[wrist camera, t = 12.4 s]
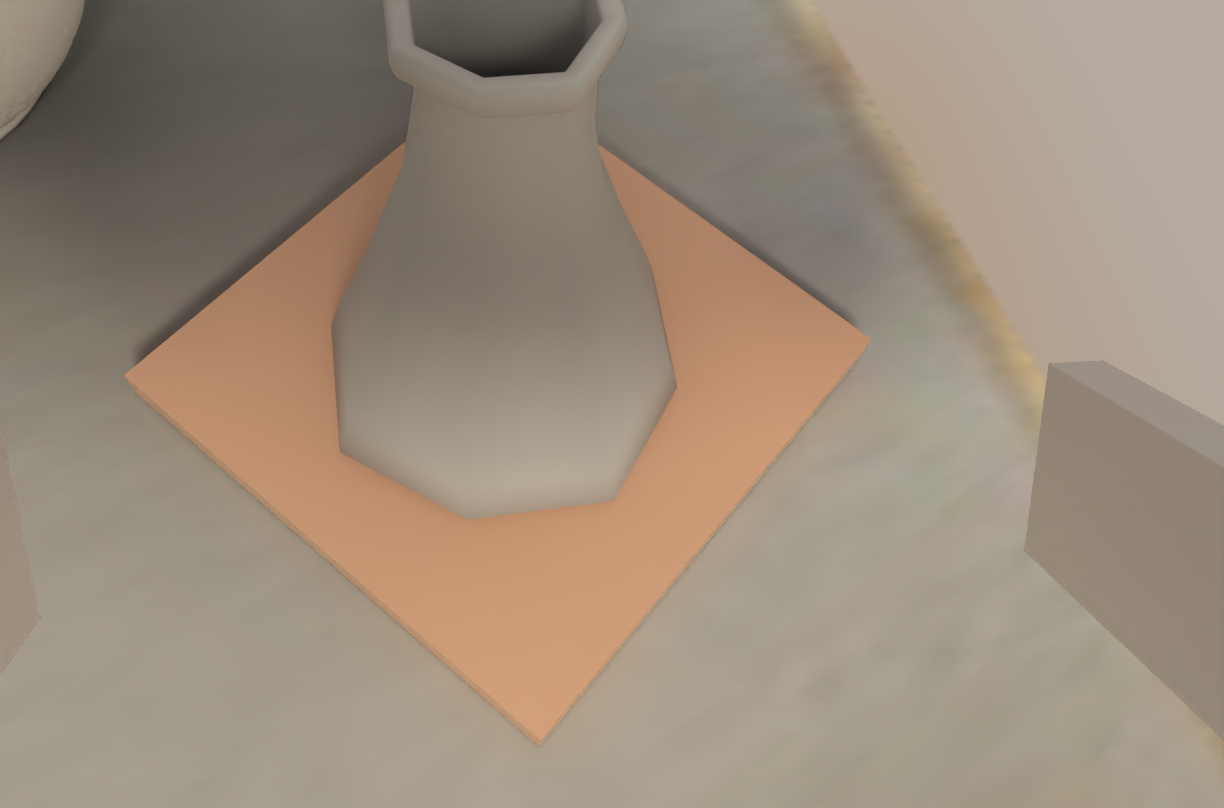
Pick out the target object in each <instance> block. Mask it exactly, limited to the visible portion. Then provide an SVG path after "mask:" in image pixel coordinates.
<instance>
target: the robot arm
mask: <svg viewBox="0 0 1224 808" xmlns="http://www.w3.org/2000/svg"><path fill="white" fill-rule="evenodd" d="M1024 551H1025V552H1026V553H1027V554H1028V555H1029V556H1030V557H1032V558H1033V559H1034V560H1035V561H1036V562H1037V563H1038V564H1039V565H1040V566H1041V567H1042V568H1043V569H1044V570H1045V571H1046V572H1047V573H1048V574H1049V575H1050V576H1051V577H1053V578H1054V579H1055V580H1056V581H1057V582H1058V583H1059V584H1060V585H1061V586H1062V587H1063V588H1064V589H1065V590H1066V591H1067V592H1068V593H1069V594H1070V595H1071V596H1072V597H1074V598H1075V599H1076V600H1077V601H1078V602H1079V603H1080V604H1081V605H1082V606H1083V607H1084V608H1085V609H1086V610H1087V611H1088V612H1089V613H1090V614H1091V615H1092V616H1093V617H1095V618H1096V619H1097V620H1098V621H1099V622H1100V623H1101V624H1102V625H1103V626H1104V627H1105V628H1106V629H1107V630H1108V631H1109V632H1110V633H1111V634H1112V635H1113V636H1114V637H1116V638H1117V639H1118V640H1119V641H1120V642H1121V643H1122V644H1123V645H1124V646H1125V647H1126V648H1127V649H1128V650H1129V651H1130V652H1131V653H1132V654H1133V655H1134V656H1135V657H1137V658H1138V659H1139V660H1140V661H1141V662H1142V663H1143V664H1144V665H1145V666H1146V667H1147V668H1148V669H1149V670H1150V671H1151V672H1152V673H1153V674H1154V675H1155V676H1156V677H1158V678H1159V679H1160V680H1161V681H1162V682H1163V683H1164V684H1165V685H1166V686H1167V687H1168V688H1169V689H1170V690H1171V691H1172V692H1173V693H1174V694H1175V695H1176V696H1177V697H1179V698H1180V699H1181V700H1182V701H1183V702H1184V703H1185V704H1186V705H1187V706H1188V707H1189V708H1190V709H1191V710H1192V711H1193V712H1194V713H1195V714H1196V715H1197V716H1198V717H1200V718H1201V719H1202V720H1203V721H1204V722H1205V723H1206V724H1207V725H1208V726H1209V727H1210V728H1211V729H1212V730H1213V731H1214V732H1215V733H1216V734H1217V735H1218V736H1219V737H1221V738H1222V739H1223V740H1224V426H1223V425H1221V424H1219V423H1218V422H1216V421H1214V420H1212V419H1210V418H1209V417H1207V416H1205V415H1203V414H1201V413H1199V412H1197V411H1195V410H1194V409H1192V408H1190V407H1188V406H1186V405H1184V404H1183V403H1181V402H1179V401H1177V400H1175V399H1173V398H1171V397H1170V396H1168V395H1166V394H1164V393H1162V392H1160V391H1158V390H1157V389H1155V388H1153V387H1151V386H1149V385H1147V384H1146V383H1144V382H1142V381H1140V380H1138V379H1136V378H1134V377H1133V376H1131V375H1129V374H1127V373H1125V372H1123V371H1121V370H1119V369H1118V368H1116V367H1114V366H1112V365H1110V364H1108V363H1107V362H1105V361H1086V362H1064V363H1049V366H1048V374H1047V381H1046V389H1045V396H1044V404H1043V412H1042V419H1041V427H1040V435H1039V442H1038V450H1037V457H1036V465H1035V473H1034V480H1033V488H1032V495H1031V503H1030V511H1029V518H1028V526H1027V534H1026V541H1025V549H1024ZM39 619H40V613H39V608H38V603H37V599H36V594H35V589H34V584H33V579H32V574H31V569H30V564H29V559H28V554H27V550H26V545H25V540H24V535H23V530H22V525H21V520H20V515H19V510H18V505H17V500H16V496H15V491H14V486H13V481H12V476H11V471H10V466H9V461H8V456H7V451H6V447H5V442H4V437H3V432H2V427H1V422H0V675H1V674H2V673H3V671H4V670H5V668H6V667H7V665H8V664H9V663H10V661H11V660H12V658H13V657H14V655H15V654H16V652H17V651H18V650H19V648H20V647H21V645H22V644H23V642H24V641H25V639H26V638H27V637H28V635H29V634H30V632H31V631H32V629H33V628H34V626H35V625H36V624H37V622H38V621H39Z"/></svg>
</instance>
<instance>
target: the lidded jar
mask: <svg viewBox="0 0 1224 808" xmlns="http://www.w3.org/2000/svg"><path fill="white" fill-rule="evenodd" d="M84 5H85V0H0V140H2V139H3V138H4V137H5V136H7V135H8V134H9V133H10V132H11V131H13V130H14V129H15V128H16V127H17V126H18V125H19V124H20V123H21V122H22V121H23V120H24V119H25V118H26V116H27V115H28V114H29V113H30V112H31V110H32V109H33V107H34V106H35V104H36V103H37V101H38V100H39V98H40V97H41V94H42V92H43V90H44V89H45V88H46V86H47V85H48V84H49V83H50V81H51V80H52V79H53V77H54V76H55V74H56V72H57V71H58V69H59V68H60V66H61V65H62V63H63V62H64V60H65V59H66V57H67V54H68V52H69V49H70V47H71V45H72V42H73V40H74V38H75V35H76V32H77V30H78V27H79V24H80V21H81V19H82V14H83V10H84Z"/></svg>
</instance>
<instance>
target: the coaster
mask: <svg viewBox="0 0 1224 808" xmlns="http://www.w3.org/2000/svg"><path fill="white" fill-rule="evenodd" d="M405 144H406V141H405V142H404V143H402V144H401V145H400V146H399V147H398V148H396V149H395V150H394V151H393V152H392V153H390V154H389V155H388V156H387V157H386V158H384V159H383V160H382V161H381V162H380V163H378V164H377V165H376V166H375V167H374V168H372V169H371V170H370V171H369V172H368V173H366V174H365V175H364V176H363V177H362V178H360V179H359V180H358V181H357V182H356V183H354V184H353V185H352V186H351V187H350V188H348V189H347V190H346V191H345V192H344V193H342V194H341V195H340V196H339V197H338V198H336V199H335V200H334V201H333V202H332V203H330V204H329V205H328V206H327V207H326V208H324V209H323V210H322V211H321V212H320V213H318V214H317V215H316V216H315V217H314V218H312V219H311V220H310V221H309V222H308V223H306V224H305V225H304V226H303V227H302V228H300V229H299V230H298V231H297V232H296V233H294V234H293V235H292V236H291V237H290V238H288V239H287V240H286V241H285V242H283V243H282V244H281V245H280V246H279V247H277V248H276V249H275V250H274V251H273V252H271V253H270V254H269V255H268V256H267V257H265V258H264V259H263V260H262V261H261V262H259V263H258V264H257V265H256V266H255V267H253V268H252V269H251V270H250V271H249V272H247V273H246V274H245V275H244V276H243V277H241V278H240V279H239V280H238V281H237V282H235V283H234V284H233V285H232V286H231V287H229V288H228V289H227V290H226V291H225V292H223V293H222V294H221V295H220V296H219V297H217V298H216V299H215V300H214V301H213V302H211V303H210V304H209V305H208V306H207V307H205V308H204V309H203V310H202V311H201V312H199V313H198V314H197V315H196V316H195V317H193V318H192V319H191V320H190V321H189V322H187V323H186V324H185V325H184V326H183V327H181V328H180V329H179V330H178V331H177V332H175V333H174V334H173V335H172V336H171V337H169V338H168V339H167V340H166V341H165V342H163V343H162V344H161V345H160V346H159V347H157V348H156V349H155V350H154V351H153V352H151V353H150V354H149V355H148V356H147V357H145V358H144V359H143V360H142V361H141V362H139V363H138V364H137V365H136V366H135V367H133V368H132V369H131V370H130V371H129V372H127V373H126V374H125V375H124V376H125V378H126V379H127V381H128V382H129V384H130V385H131V387H132V388H133V390H134V391H135V392H136V394H138V395H139V396H140V397H141V398H142V399H143V400H144V401H146V402H147V403H148V404H149V405H150V406H151V407H152V408H154V409H155V410H156V411H157V412H158V413H159V414H160V415H162V416H163V417H164V418H165V419H166V420H167V421H168V422H170V423H171V424H172V425H173V426H174V427H175V428H176V429H177V430H179V431H180V432H181V433H182V434H183V435H184V436H185V437H187V438H188V439H189V440H190V441H191V442H192V443H193V444H195V445H196V446H197V447H198V448H199V449H200V450H201V451H203V452H204V453H205V454H206V455H207V456H208V457H209V458H211V459H212V460H213V461H214V462H215V463H216V464H217V465H219V466H220V467H221V468H222V469H223V470H224V471H225V472H227V473H228V474H229V475H230V476H231V477H232V478H233V479H234V480H236V481H237V482H238V483H239V484H240V485H241V486H242V487H244V488H245V489H246V490H247V491H248V492H249V493H250V494H252V495H253V496H254V497H255V498H256V499H257V500H258V501H260V502H261V503H262V504H263V505H264V506H265V507H266V508H268V509H269V510H270V511H271V512H272V513H273V514H274V515H276V516H277V517H278V518H279V519H280V520H281V521H282V522H283V523H285V524H286V525H287V526H288V527H289V528H290V529H291V530H293V531H294V532H295V533H296V534H297V535H298V536H299V537H301V538H302V539H303V540H304V541H305V542H306V543H307V544H309V545H310V546H311V547H312V548H313V549H314V550H315V551H317V552H318V553H319V554H320V555H321V556H322V557H323V558H325V559H326V560H327V561H328V562H329V563H330V564H331V565H333V566H334V567H335V568H336V569H337V570H338V571H339V572H340V573H342V574H343V575H344V576H345V577H346V578H347V579H348V580H350V581H351V582H352V583H353V584H354V585H355V586H356V587H358V588H359V589H360V590H361V591H362V592H363V593H364V594H366V595H367V596H368V597H369V598H370V599H371V600H372V601H374V602H375V603H376V604H377V605H378V606H379V607H380V608H382V609H383V610H384V611H385V612H386V613H387V614H388V615H389V616H391V617H392V618H393V619H394V620H395V621H396V622H397V623H399V624H400V625H401V626H402V627H403V628H404V629H405V630H407V631H408V632H409V633H410V634H411V635H412V636H413V637H415V638H416V639H417V640H418V641H419V642H420V643H421V644H423V645H424V646H425V647H426V648H427V649H428V650H429V651H431V652H432V653H433V654H434V655H435V656H436V657H437V658H439V659H440V660H441V661H442V662H443V663H444V664H445V665H446V666H448V667H449V668H450V669H451V670H452V671H453V672H454V673H456V674H457V675H458V676H459V677H460V678H461V679H462V680H464V681H465V682H466V683H467V684H468V685H469V686H470V687H472V688H473V689H474V690H475V691H476V692H477V693H478V694H480V695H481V696H482V697H483V698H484V699H485V700H486V701H488V702H489V703H490V704H491V705H492V706H493V707H494V708H496V709H497V710H498V711H499V712H500V713H501V714H502V715H503V716H505V717H506V718H507V719H508V720H509V721H510V722H511V723H513V724H514V725H515V726H516V727H517V728H518V729H519V730H521V731H522V732H523V733H524V734H525V735H526V736H527V737H529V738H530V739H531V740H532V741H533V742H534V743H535V744H537V745H538V746H540V745H541V744H542V743H543V742H544V740H545V739H546V738H547V737H548V735H549V734H550V733H551V732H552V731H553V729H554V728H555V727H556V726H557V725H558V723H559V722H560V721H561V720H562V718H563V717H564V716H565V715H566V714H567V712H568V711H569V710H570V709H571V708H572V706H573V705H574V704H575V703H576V701H577V700H578V699H579V698H580V697H581V695H582V694H583V693H584V692H585V691H586V689H587V688H588V687H589V686H590V685H591V683H592V682H593V681H594V680H595V678H596V677H597V676H598V675H599V674H600V672H601V671H602V670H603V669H604V668H605V666H606V665H607V664H608V663H609V661H610V660H611V659H612V658H613V657H614V655H615V654H616V653H617V652H618V651H619V649H620V648H621V647H622V646H623V645H624V643H625V642H626V641H627V640H628V638H629V637H630V636H631V635H632V634H633V632H634V631H635V630H636V629H637V628H638V626H639V625H640V624H641V623H642V621H643V620H644V619H645V618H646V617H647V615H648V614H649V613H650V612H651V611H652V609H653V608H654V607H655V606H656V605H657V603H658V602H659V601H660V600H661V598H662V597H663V596H664V595H665V594H666V592H667V591H668V590H669V589H670V588H671V586H672V585H673V584H674V583H675V581H676V580H677V579H678V578H679V577H680V575H681V574H682V573H683V572H684V571H685V569H686V568H687V567H688V566H689V564H690V563H691V562H692V561H693V560H694V558H695V557H696V556H697V555H698V554H699V552H700V551H701V550H702V549H703V548H704V546H705V545H706V544H707V543H708V541H709V540H710V539H711V538H712V537H713V535H714V534H715V533H716V532H717V531H718V529H719V528H720V527H721V526H722V524H723V523H724V522H725V521H726V520H727V518H728V517H729V516H730V515H731V514H732V512H733V511H734V510H735V509H736V508H737V506H738V505H739V504H740V503H741V501H742V500H743V499H744V498H745V497H746V495H747V494H748V493H749V492H750V491H751V489H752V488H753V487H754V486H755V484H756V483H757V482H758V481H759V480H760V478H761V477H762V476H763V475H764V474H765V472H766V471H767V470H768V469H769V467H770V466H771V465H772V464H773V463H774V461H775V460H776V459H777V458H778V457H779V455H780V454H781V453H782V452H783V451H784V449H785V448H786V447H787V446H788V444H789V443H790V442H791V441H792V440H793V438H794V437H795V436H796V435H797V434H798V432H799V431H800V430H801V429H802V427H803V426H804V425H805V424H806V423H807V421H808V420H809V419H810V418H811V417H812V415H813V414H814V413H815V412H816V411H817V409H818V408H819V407H820V406H821V404H822V403H823V402H824V401H825V400H826V398H827V397H828V396H829V395H830V394H831V392H832V391H833V390H834V389H835V387H836V386H837V385H838V384H839V383H840V381H841V380H842V379H843V378H844V377H845V375H846V374H847V373H848V372H849V371H850V369H851V368H852V367H853V366H854V364H855V363H856V362H857V361H858V360H859V358H860V357H861V356H862V354H863V353H864V351H865V349H866V348H867V346H868V344H869V343H870V341H871V340H872V339H871V338H870V337H868V336H867V335H865V334H864V333H863V332H861V331H860V330H858V329H857V328H856V327H854V326H853V325H851V324H850V323H849V322H847V321H846V320H844V319H843V318H842V317H840V316H839V315H837V314H836V313H835V312H833V311H832V310H830V309H829V308H827V307H826V306H825V305H823V304H822V303H820V302H819V301H818V300H816V299H815V298H813V297H812V296H811V295H809V294H808V293H806V292H805V291H804V290H802V289H801V288H799V287H798V286H797V285H795V284H794V283H792V282H791V281H790V280H788V279H787V278H785V277H784V276H783V275H781V274H780V273H778V272H777V271H776V270H774V269H773V268H771V267H770V266H769V265H767V264H766V263H764V262H763V261H762V260H760V259H759V258H757V257H756V256H755V255H753V254H752V253H750V252H749V251H748V250H746V249H745V248H743V247H742V246H741V245H739V244H738V243H736V242H735V241H734V240H732V239H731V238H729V237H728V236H727V235H725V234H724V233H722V232H721V231H720V230H718V229H717V228H715V227H714V226H713V225H711V224H710V223H708V222H707V221H706V220H704V219H703V218H701V217H700V216H699V215H697V214H696V213H694V212H693V211H692V210H690V209H689V208H687V207H686V206H685V205H683V204H682V203H680V202H679V201H678V200H676V199H675V198H673V197H672V196H671V195H669V194H668V193H666V192H665V191H664V190H662V189H661V188H659V187H658V186H657V185H655V184H654V183H652V182H651V181H650V180H648V179H647V178H645V177H644V176H643V175H641V174H640V173H638V172H637V171H636V170H634V169H633V168H631V167H630V166H629V165H627V164H626V163H624V162H623V161H622V160H620V159H619V158H617V157H616V156H615V155H613V154H612V153H610V152H609V151H608V150H606V149H605V148H603V147H602V146H601V145H599V144H598V148H599V152H600V154H601V157H602V159H603V162H604V164H605V166H606V169H607V171H608V174H609V176H610V179H611V181H612V184H613V186H614V188H615V191H616V193H617V196H618V198H619V201H620V203H621V206H622V208H623V210H624V212H625V214H626V215H627V217H628V219H629V221H630V223H631V225H632V227H633V229H634V231H635V233H636V235H637V237H638V239H639V241H640V243H641V245H642V247H643V249H644V251H645V253H646V255H647V258H648V260H649V263H650V265H651V267H652V270H653V275H654V279H655V284H656V289H657V293H658V298H659V303H660V307H661V312H662V317H663V322H664V326H665V331H666V336H667V340H668V345H669V350H670V354H671V359H672V364H673V368H674V373H675V378H676V382H677V389H676V391H675V393H674V394H673V396H672V398H671V400H670V402H669V403H668V405H667V407H666V409H665V411H664V412H663V414H662V416H661V418H660V420H659V421H658V423H657V425H656V427H655V429H654V430H653V432H652V434H651V436H650V438H649V439H648V441H647V443H646V445H645V446H644V448H643V450H642V452H641V454H640V455H639V457H638V459H637V461H636V463H635V464H634V466H633V468H632V470H631V472H630V473H629V475H628V477H627V479H626V481H625V482H624V484H623V486H622V488H621V490H620V491H619V493H618V495H617V497H616V499H615V500H614V501H611V502H603V503H595V504H588V505H580V506H572V507H564V508H556V509H548V510H541V511H533V512H525V513H517V514H509V515H501V516H494V517H486V518H478V519H470V520H467V519H465V518H463V517H461V516H459V515H457V514H455V513H453V512H452V511H450V510H448V509H446V508H444V507H442V506H440V505H438V504H436V503H435V502H433V501H431V500H429V499H427V498H425V497H423V496H421V495H420V494H418V493H416V492H414V491H412V490H410V489H408V488H406V487H404V486H403V485H401V484H399V483H397V482H395V481H393V480H391V479H389V478H387V477H386V476H384V475H382V474H380V473H378V472H376V471H374V470H372V469H371V468H369V467H367V466H365V465H363V464H361V463H359V462H357V461H355V460H354V459H352V458H350V457H348V456H346V455H344V454H342V453H340V449H339V434H338V420H337V405H336V391H335V377H334V362H333V348H332V333H331V324H332V321H333V319H334V316H335V314H336V312H337V309H338V307H339V304H340V302H341V300H342V298H343V296H344V294H345V292H346V290H347V288H348V286H349V284H350V282H351V280H352V278H353V276H354V274H355V272H356V270H357V268H358V266H359V264H360V262H361V260H362V258H363V256H364V254H365V252H366V250H367V248H368V246H369V244H370V241H371V239H372V237H373V234H374V232H375V229H376V227H377V225H378V222H379V220H380V217H381V215H382V212H383V210H384V208H385V205H386V203H387V200H388V198H389V196H390V193H391V191H392V188H393V186H394V183H395V181H396V179H397V176H398V174H399V171H400V169H401V166H402V164H403V157H404V151H405Z"/></svg>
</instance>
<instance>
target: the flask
mask: <svg viewBox="0 0 1224 808" xmlns="http://www.w3.org/2000/svg"><path fill="white" fill-rule="evenodd" d="M382 2H383V12H384V21H385V30H386V40H387V49H388V58H389V66H390V68H391V70H392V72H393V74H394V76H395V77H396V78H398V79H399V80H401V81H403V82H405V83H407V84H409V85H412V86H413V96H412V103H411V110H410V116H409V123H408V130H407V137H406V144H405V151H404V157H403V164H402V166H401V169H400V171H399V174H398V176H397V179H396V181H395V183H394V186H393V188H392V191H391V193H390V196H389V198H388V200H387V203H386V205H385V208H384V210H383V212H382V215H381V217H380V220H379V222H378V225H377V227H376V229H375V232H374V234H373V237H372V239H371V241H370V244H369V246H368V248H367V250H366V252H365V254H364V256H363V258H362V260H361V262H360V264H359V266H358V268H357V270H356V272H355V274H354V276H353V278H352V280H351V282H350V284H349V286H348V288H347V290H346V292H345V294H344V296H343V298H342V300H341V302H340V304H339V307H338V309H337V312H336V314H335V316H334V319H333V321H332V324H331V333H332V348H333V362H334V377H335V391H336V405H337V420H338V434H339V449H340V453H342V454H344V455H346V456H348V457H350V458H352V459H354V460H355V461H357V462H359V463H361V464H363V465H365V466H367V467H369V468H371V469H372V470H374V471H376V472H378V473H380V474H382V475H384V476H386V477H387V478H389V479H391V480H393V481H395V482H397V483H399V484H401V485H403V486H404V487H406V488H408V489H410V490H412V491H414V492H416V493H418V494H420V495H421V496H423V497H425V498H427V499H429V500H431V501H433V502H435V503H436V504H438V505H440V506H442V507H444V508H446V509H448V510H450V511H452V512H453V513H455V514H457V515H459V516H461V517H463V518H465V519H467V520H470V519H478V518H486V517H494V516H501V515H509V514H517V513H525V512H533V511H541V510H548V509H556V508H564V507H572V506H580V505H588V504H595V503H603V502H611V501H614V500H615V499H616V497H617V495H618V493H619V491H620V490H621V488H622V486H623V484H624V482H625V481H626V479H627V477H628V475H629V473H630V472H631V470H632V468H633V466H634V464H635V463H636V461H637V459H638V457H639V455H640V454H641V452H642V450H643V448H644V446H645V445H646V443H647V441H648V439H649V438H650V436H651V434H652V432H653V430H654V429H655V427H656V425H657V423H658V421H659V420H660V418H661V416H662V414H663V412H664V411H665V409H666V407H667V405H668V403H669V402H670V400H671V398H672V396H673V394H674V393H675V391H676V389H677V382H676V378H675V373H674V368H673V364H672V359H671V354H670V350H669V345H668V340H667V336H666V331H665V326H664V322H663V317H662V312H661V307H660V303H659V298H658V293H657V289H656V284H655V279H654V275H653V270H652V267H651V265H650V263H649V260H648V258H647V255H646V253H645V251H644V249H643V247H642V245H641V243H640V241H639V239H638V237H637V235H636V233H635V231H634V229H633V227H632V225H631V223H630V221H629V219H628V217H627V215H626V214H625V212H624V210H623V208H622V206H621V203H620V201H619V198H618V196H617V193H616V191H615V188H614V186H613V184H612V181H611V179H610V176H609V174H608V171H607V169H606V166H605V164H604V162H603V159H602V157H601V154H600V152H599V148H598V141H597V134H596V127H595V117H596V106H597V94H598V83H599V78H600V76H601V75H602V73H603V72H604V70H605V69H606V68H607V66H608V65H609V63H610V62H611V60H612V59H613V58H614V56H615V55H616V53H617V52H618V50H619V49H620V48H621V46H622V44H623V42H624V39H625V37H626V35H627V24H628V20H627V16H626V12H625V7H624V3H623V0H382Z"/></svg>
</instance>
